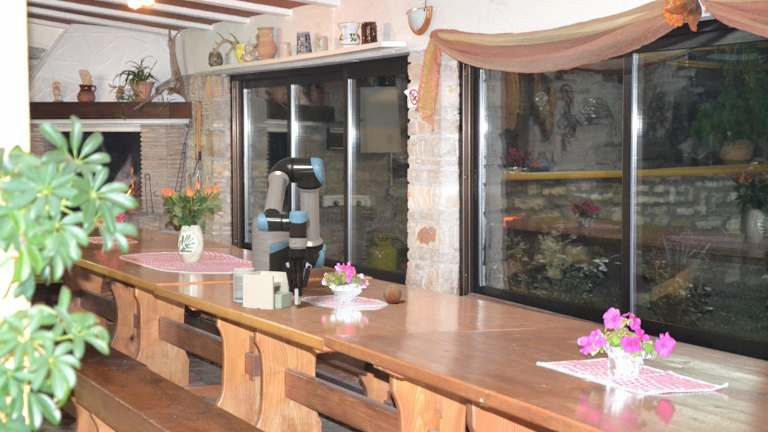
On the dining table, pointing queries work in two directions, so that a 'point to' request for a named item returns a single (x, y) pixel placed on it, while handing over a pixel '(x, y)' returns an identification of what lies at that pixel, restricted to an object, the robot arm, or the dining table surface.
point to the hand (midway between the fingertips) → (297, 304)
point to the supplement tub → (239, 283)
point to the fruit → (392, 294)
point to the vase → (264, 245)
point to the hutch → (263, 288)
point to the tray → (282, 299)
